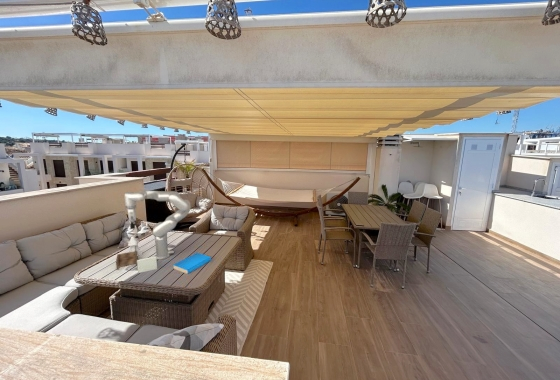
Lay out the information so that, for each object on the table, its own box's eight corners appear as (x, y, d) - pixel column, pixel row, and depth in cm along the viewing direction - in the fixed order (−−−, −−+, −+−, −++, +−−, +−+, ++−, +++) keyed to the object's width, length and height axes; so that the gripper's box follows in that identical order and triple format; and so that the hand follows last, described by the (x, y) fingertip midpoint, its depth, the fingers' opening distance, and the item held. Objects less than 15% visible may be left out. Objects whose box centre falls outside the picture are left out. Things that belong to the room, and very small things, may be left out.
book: (172, 264, 181) (196, 252, 203) (173, 269, 182) (197, 256, 204) (187, 270, 173) (211, 256, 195) (188, 275, 174) (211, 261, 196)
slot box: (137, 258, 197) (136, 250, 196) (137, 265, 185) (136, 257, 184) (118, 262, 190) (117, 254, 189) (116, 269, 178) (115, 261, 177)
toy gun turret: (144, 250, 212) (142, 232, 209) (140, 257, 200) (139, 238, 196) (129, 252, 208) (127, 234, 205) (125, 258, 196) (123, 239, 192)
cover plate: (157, 267, 183) (156, 256, 181) (157, 268, 181) (156, 257, 179) (138, 271, 176) (137, 260, 174) (138, 273, 174) (137, 261, 172)
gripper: (136, 209, 181) (138, 229, 184) (136, 204, 195) (138, 223, 198) (125, 210, 177) (127, 230, 180) (126, 205, 191) (128, 224, 194)
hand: (132, 226), depth 189 cm, fingers open, 9 cm apart
